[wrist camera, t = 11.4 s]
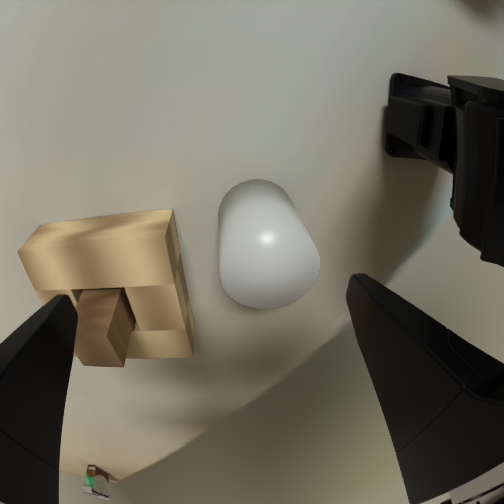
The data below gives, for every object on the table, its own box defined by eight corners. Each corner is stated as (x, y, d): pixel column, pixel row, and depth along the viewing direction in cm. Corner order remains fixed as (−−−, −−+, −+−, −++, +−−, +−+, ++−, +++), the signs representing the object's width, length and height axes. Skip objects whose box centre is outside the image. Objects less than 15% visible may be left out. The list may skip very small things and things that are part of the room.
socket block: (172, 208, 21) (164, 236, 17) (194, 324, 27) (193, 357, 24) (39, 225, 20) (17, 251, 17) (84, 326, 26) (73, 356, 23)
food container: (76, 460, 58) (73, 488, 50) (93, 463, 58) (90, 492, 50) (95, 472, 65) (93, 497, 57) (111, 474, 65) (110, 500, 57)
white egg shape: (294, 178, 21) (325, 224, 15) (290, 243, 24) (314, 304, 18) (215, 181, 20) (215, 231, 14) (221, 248, 23) (224, 312, 17)
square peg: (131, 261, 23) (106, 336, 16) (140, 293, 25) (123, 367, 18) (95, 264, 23) (63, 335, 16) (107, 294, 25) (83, 365, 18)
